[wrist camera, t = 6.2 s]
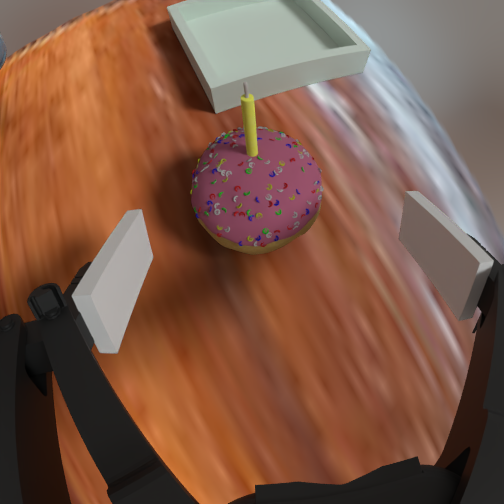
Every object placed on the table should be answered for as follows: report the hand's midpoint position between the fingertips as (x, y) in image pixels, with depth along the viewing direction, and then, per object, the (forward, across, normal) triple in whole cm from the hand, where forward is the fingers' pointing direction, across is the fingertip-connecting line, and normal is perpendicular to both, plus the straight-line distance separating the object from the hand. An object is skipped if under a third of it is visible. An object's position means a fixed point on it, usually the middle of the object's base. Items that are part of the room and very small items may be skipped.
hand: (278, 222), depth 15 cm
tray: (+23, +1, +11) cm, 25 cm away
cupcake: (+9, -1, -4) cm, 10 cm away
